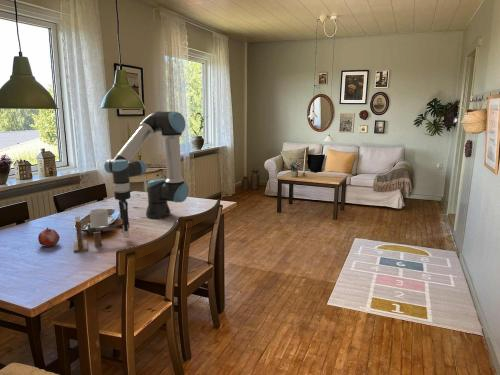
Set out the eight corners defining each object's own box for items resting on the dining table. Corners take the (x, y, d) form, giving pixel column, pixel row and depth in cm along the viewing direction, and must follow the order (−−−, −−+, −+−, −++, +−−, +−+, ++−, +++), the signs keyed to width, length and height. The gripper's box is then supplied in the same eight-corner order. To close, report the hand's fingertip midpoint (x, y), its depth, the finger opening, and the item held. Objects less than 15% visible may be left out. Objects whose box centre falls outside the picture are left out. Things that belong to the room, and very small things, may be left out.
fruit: (44, 242, 187) (41, 223, 185) (63, 241, 188) (61, 223, 186) (34, 249, 179) (32, 229, 176) (55, 248, 179) (52, 229, 177)
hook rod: (128, 229, 193) (127, 217, 191) (130, 233, 187) (129, 220, 186) (88, 234, 184) (87, 222, 183) (89, 238, 179) (87, 226, 177)
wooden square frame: (86, 242, 188) (84, 215, 184) (87, 250, 177) (84, 221, 174) (73, 244, 185) (70, 216, 182) (73, 252, 174) (70, 223, 171)
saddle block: (100, 242, 187) (99, 230, 186) (101, 246, 183) (100, 233, 181) (94, 243, 186) (93, 231, 185) (95, 246, 182) (94, 234, 180)
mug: (102, 233, 201) (100, 213, 198) (88, 232, 203) (86, 212, 200) (114, 226, 212) (113, 207, 210) (100, 225, 214) (99, 206, 212)
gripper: (112, 187, 191) (115, 229, 196) (116, 195, 174) (119, 241, 179) (127, 186, 194) (130, 227, 199) (132, 194, 177) (135, 239, 182)
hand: (125, 234), depth 189 cm, fingers closed on hook rod, 6 cm apart
